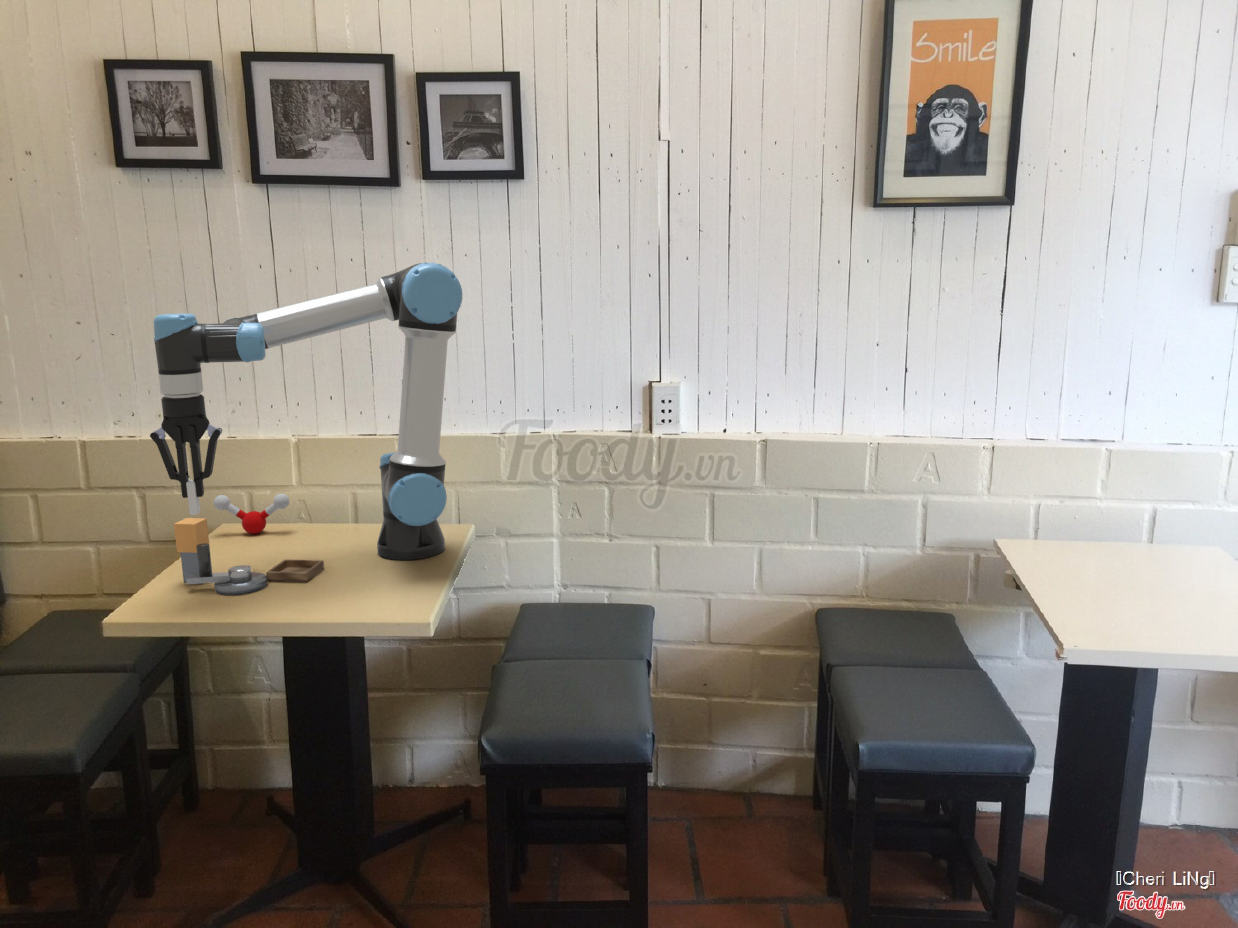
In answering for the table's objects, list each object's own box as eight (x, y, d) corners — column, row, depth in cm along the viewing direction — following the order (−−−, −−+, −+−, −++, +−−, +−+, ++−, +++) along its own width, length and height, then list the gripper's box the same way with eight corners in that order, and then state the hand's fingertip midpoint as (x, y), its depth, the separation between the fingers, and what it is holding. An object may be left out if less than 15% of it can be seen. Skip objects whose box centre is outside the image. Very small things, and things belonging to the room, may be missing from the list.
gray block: (209, 579, 196) (206, 547, 195) (202, 583, 194) (198, 551, 192) (191, 578, 197) (188, 546, 195) (183, 583, 194) (180, 551, 192)
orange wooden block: (209, 546, 196) (206, 518, 194) (197, 552, 191) (194, 524, 190) (189, 545, 196) (186, 517, 195) (177, 552, 192) (173, 523, 190)
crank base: (276, 579, 196) (275, 572, 196) (253, 596, 186) (252, 588, 186) (228, 578, 197) (227, 570, 197) (203, 594, 187) (202, 586, 187)
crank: (253, 575, 194) (250, 538, 192) (250, 582, 190) (246, 545, 188) (190, 580, 191) (186, 543, 190) (185, 587, 187) (181, 549, 185)
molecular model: (214, 539, 225) (210, 499, 223) (219, 532, 230) (215, 493, 228) (291, 534, 228) (287, 494, 226) (293, 528, 234) (290, 489, 232)
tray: (324, 569, 202) (323, 560, 202) (307, 582, 194) (306, 573, 194) (285, 568, 203) (284, 559, 203) (266, 581, 195) (266, 572, 194)
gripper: (222, 391, 186) (233, 506, 191) (150, 393, 183) (164, 510, 188) (214, 396, 179) (226, 515, 184) (140, 398, 176) (154, 520, 181)
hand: (195, 512), depth 186 cm, fingers closed
